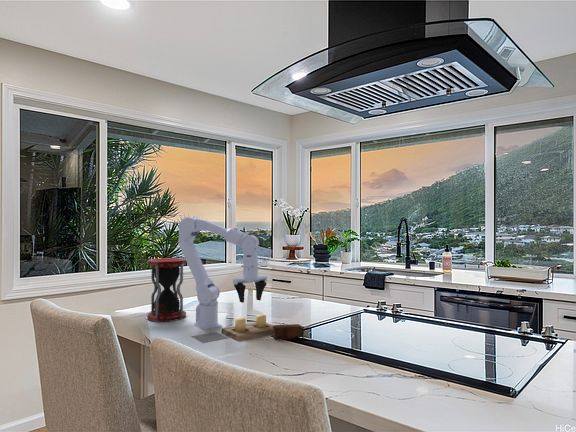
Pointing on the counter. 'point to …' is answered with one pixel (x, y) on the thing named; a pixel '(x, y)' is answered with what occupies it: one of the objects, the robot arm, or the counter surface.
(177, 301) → the hourglass
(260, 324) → the tan domed cylinder
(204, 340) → the mat
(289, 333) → the brick
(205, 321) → the robot arm
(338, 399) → the counter surface
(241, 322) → the yellow peg
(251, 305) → the counter surface
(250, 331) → the socket board
